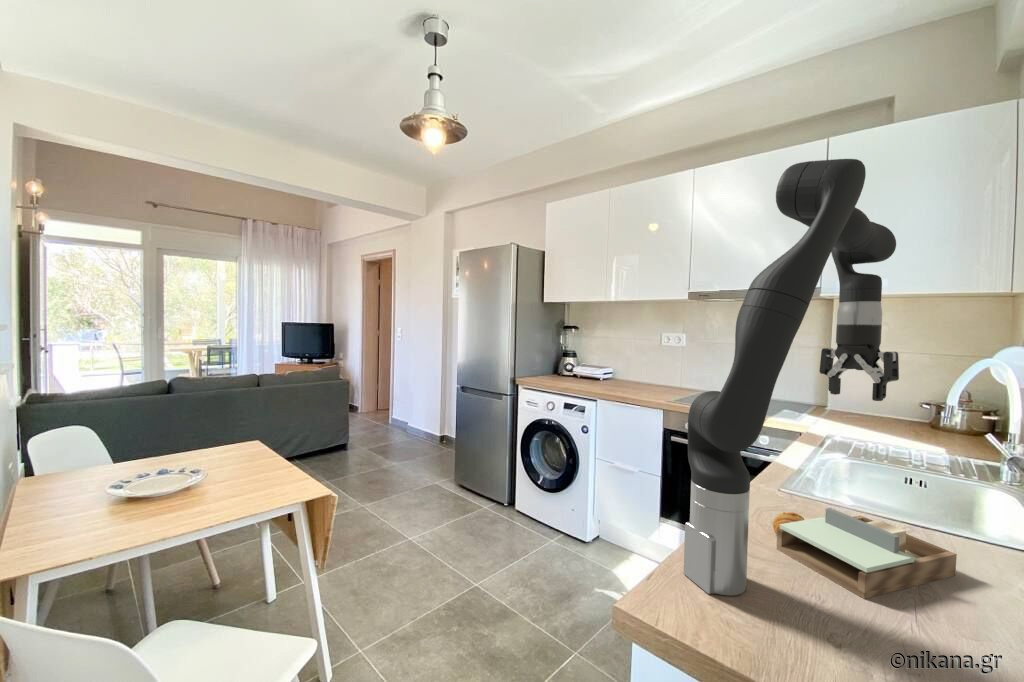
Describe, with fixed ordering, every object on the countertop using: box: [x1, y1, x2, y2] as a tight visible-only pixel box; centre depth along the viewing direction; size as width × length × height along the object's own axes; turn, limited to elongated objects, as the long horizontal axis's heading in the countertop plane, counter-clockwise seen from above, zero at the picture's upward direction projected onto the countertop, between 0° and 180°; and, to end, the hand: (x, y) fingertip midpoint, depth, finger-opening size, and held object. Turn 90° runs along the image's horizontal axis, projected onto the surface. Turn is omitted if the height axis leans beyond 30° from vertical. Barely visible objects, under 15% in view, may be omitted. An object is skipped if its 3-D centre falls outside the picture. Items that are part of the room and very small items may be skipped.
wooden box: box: [776, 515, 957, 600], centre depth 80 cm, size 24×16×4 cm, turn 107°
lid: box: [780, 507, 915, 573], centre depth 78 cm, size 12×16×4 cm
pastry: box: [772, 511, 805, 537], centre depth 90 cm, size 9×7×4 cm
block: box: [866, 519, 907, 553], centre depth 81 cm, size 4×4×5 cm
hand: (855, 397), depth 90 cm, fingers open, 8 cm apart
